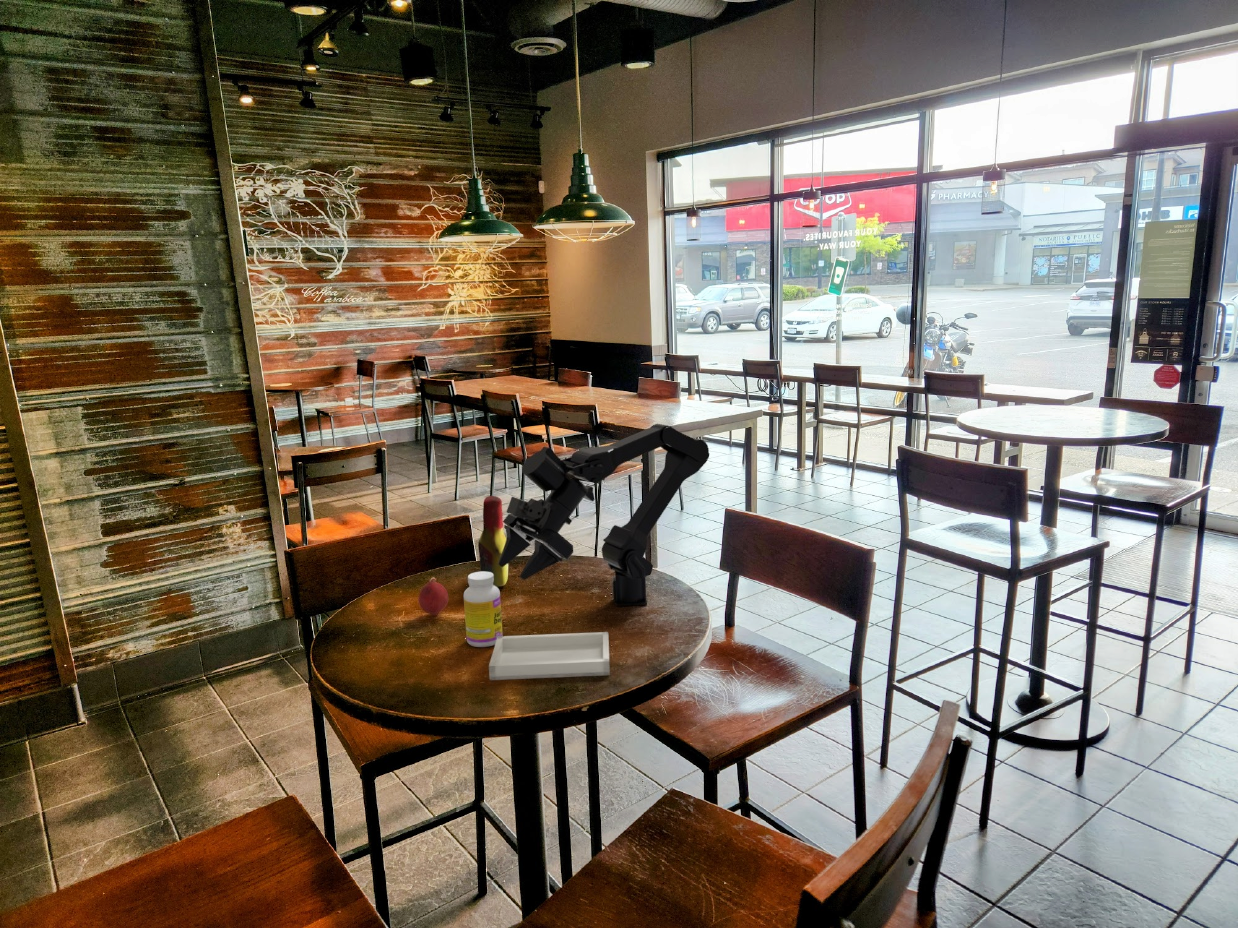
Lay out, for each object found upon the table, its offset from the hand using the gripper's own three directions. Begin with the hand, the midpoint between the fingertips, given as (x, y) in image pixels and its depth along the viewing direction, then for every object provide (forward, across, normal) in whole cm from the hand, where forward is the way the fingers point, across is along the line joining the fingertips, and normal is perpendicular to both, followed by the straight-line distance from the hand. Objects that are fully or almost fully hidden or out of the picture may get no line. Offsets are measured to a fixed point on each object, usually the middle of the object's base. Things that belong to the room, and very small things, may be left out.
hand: (510, 571), depth 147 cm
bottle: (+2, -29, +16) cm, 33 cm away
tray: (+9, +15, +8) cm, 20 cm away
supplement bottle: (+13, 0, +5) cm, 14 cm away
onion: (+15, -18, +2) cm, 24 cm away
